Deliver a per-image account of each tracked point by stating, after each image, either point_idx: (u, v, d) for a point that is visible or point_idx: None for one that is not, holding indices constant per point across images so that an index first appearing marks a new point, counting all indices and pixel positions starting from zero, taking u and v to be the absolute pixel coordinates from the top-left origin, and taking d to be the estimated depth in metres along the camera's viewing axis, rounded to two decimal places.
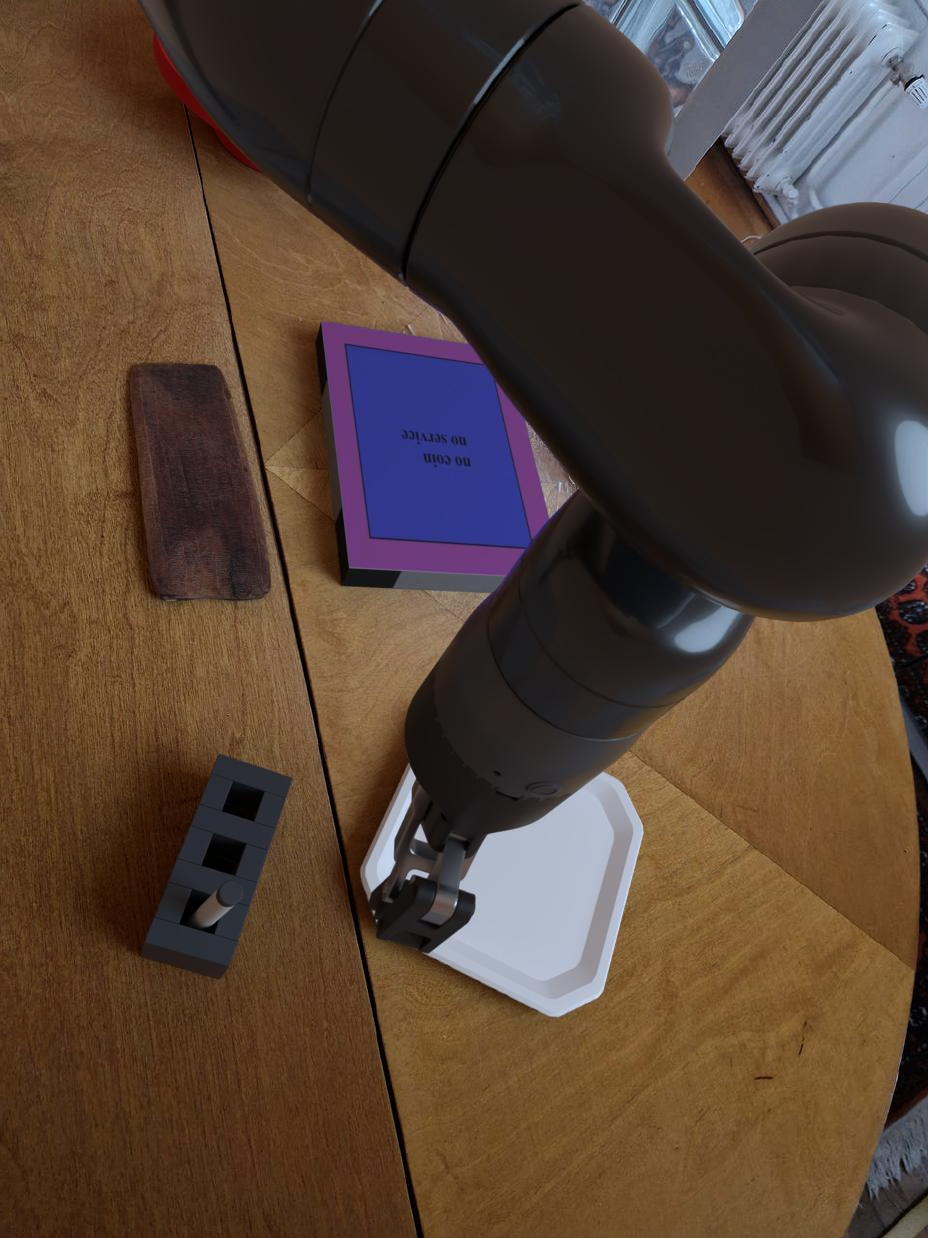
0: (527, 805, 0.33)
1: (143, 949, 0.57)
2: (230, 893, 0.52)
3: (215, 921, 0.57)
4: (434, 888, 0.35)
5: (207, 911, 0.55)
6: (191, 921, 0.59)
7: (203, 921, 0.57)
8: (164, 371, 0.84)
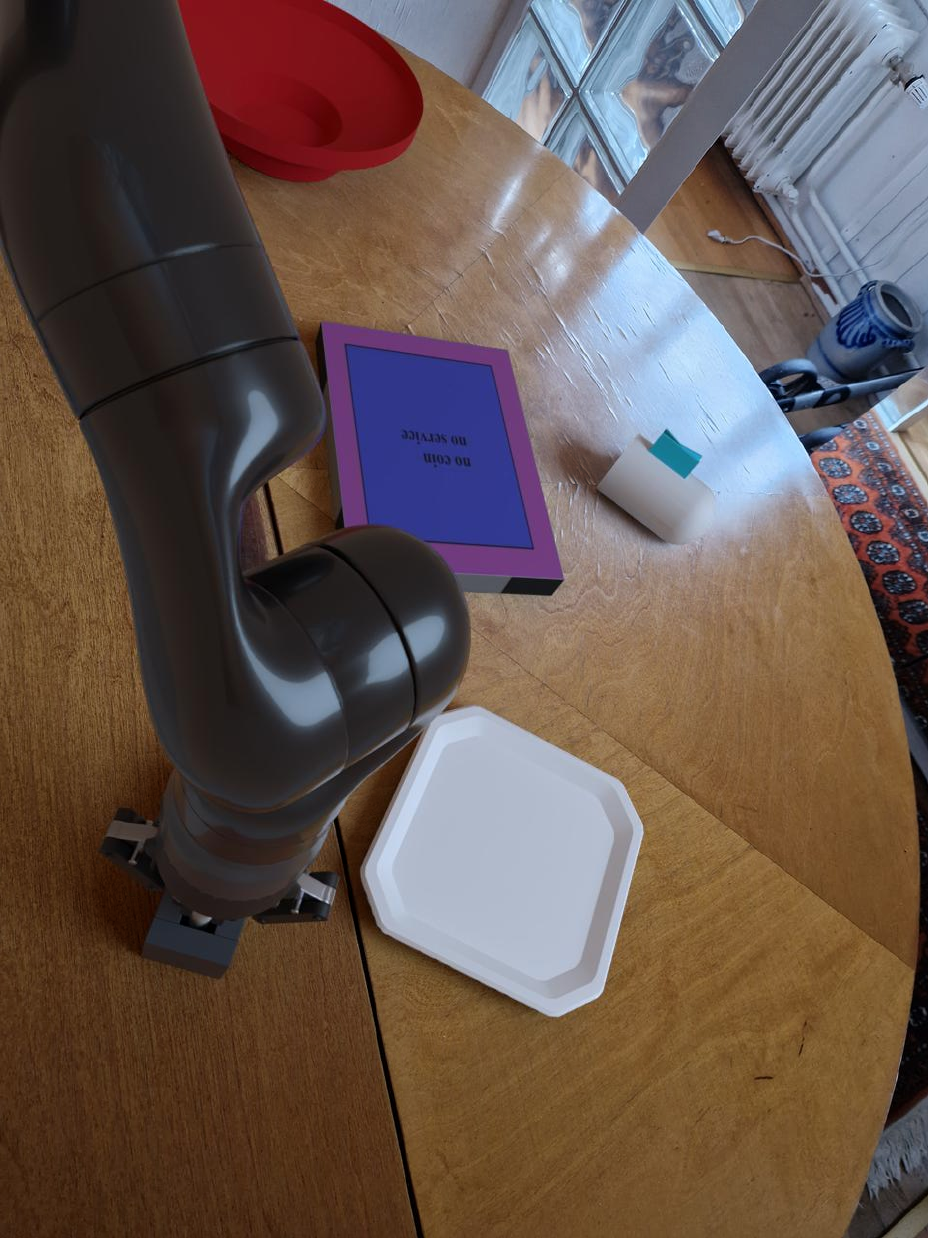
0: (159, 822, 0.42)
1: (143, 949, 0.57)
2: None
3: (209, 917, 0.57)
4: (120, 819, 0.47)
5: None
6: (189, 920, 0.59)
7: (197, 917, 0.57)
8: None
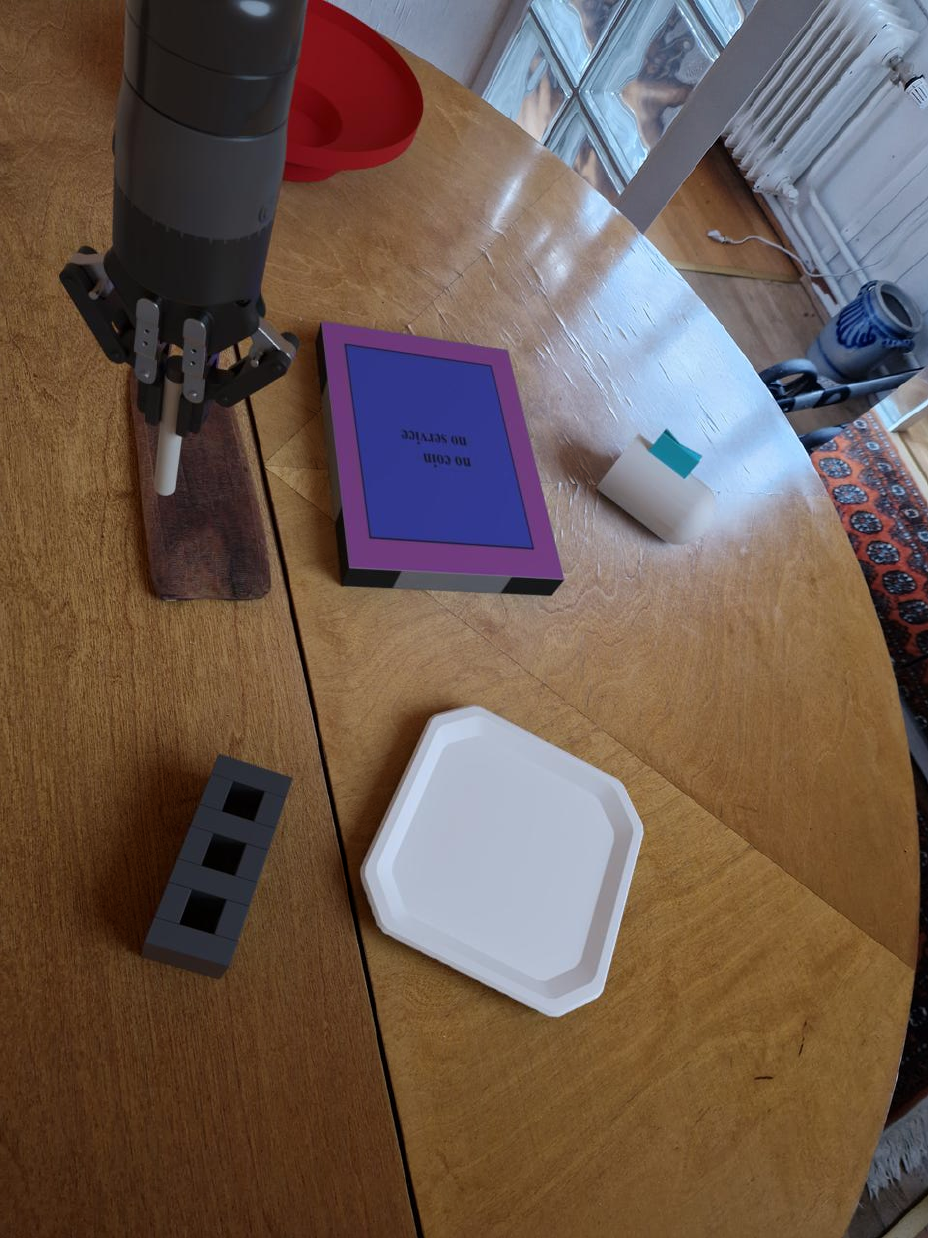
0: None
1: (143, 949, 0.57)
2: (177, 363, 0.52)
3: (175, 440, 0.57)
4: (81, 252, 0.48)
5: (163, 413, 0.55)
6: (156, 462, 0.59)
7: (163, 440, 0.57)
8: None
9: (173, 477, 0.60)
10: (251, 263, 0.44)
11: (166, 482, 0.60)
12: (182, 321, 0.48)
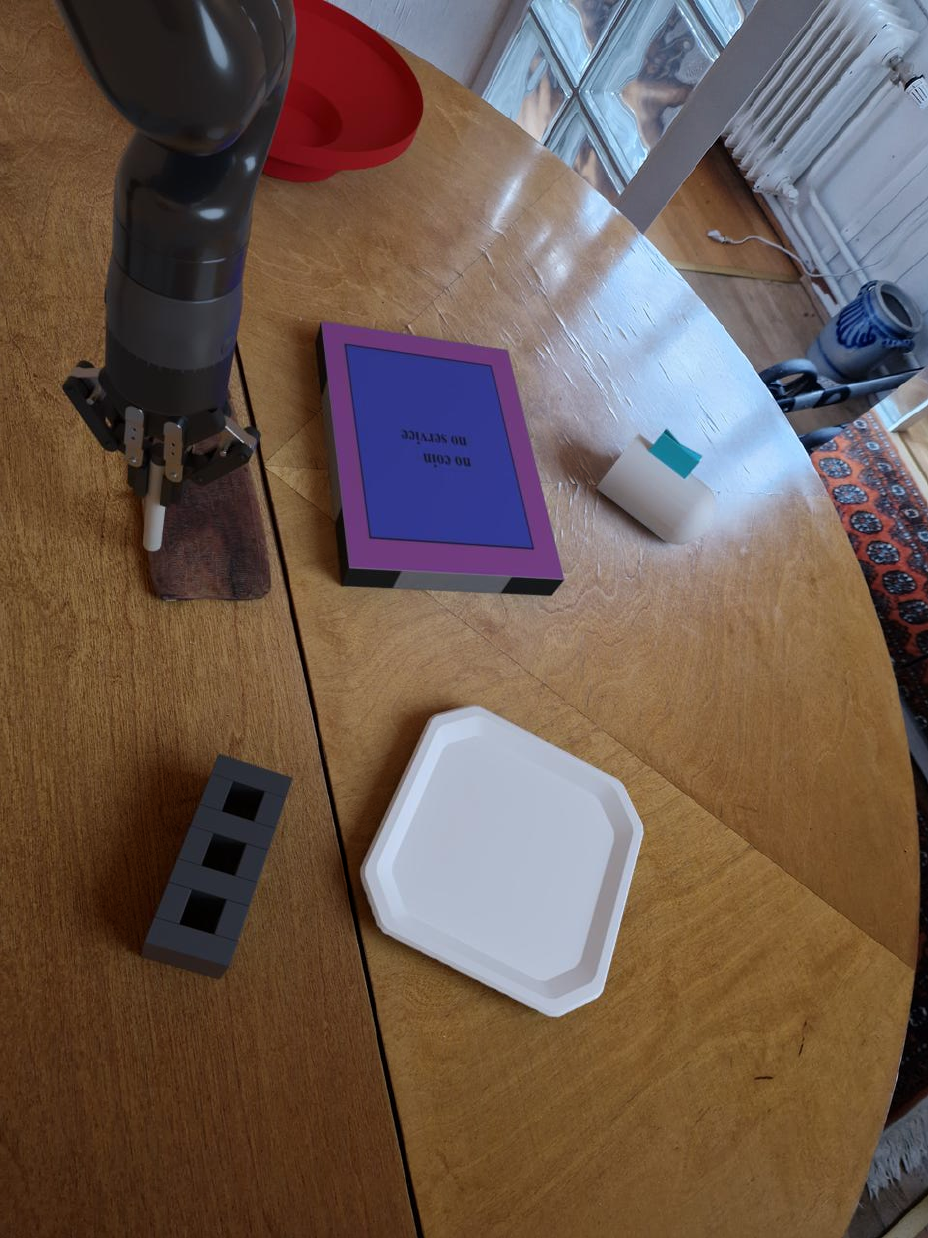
0: None
1: (143, 949, 0.57)
2: (160, 450, 0.63)
3: (160, 509, 0.68)
4: (80, 366, 0.59)
5: (149, 487, 0.66)
6: None
7: (150, 509, 0.68)
8: None
9: (159, 536, 0.71)
10: (216, 382, 0.55)
11: (153, 541, 0.71)
12: (163, 421, 0.59)
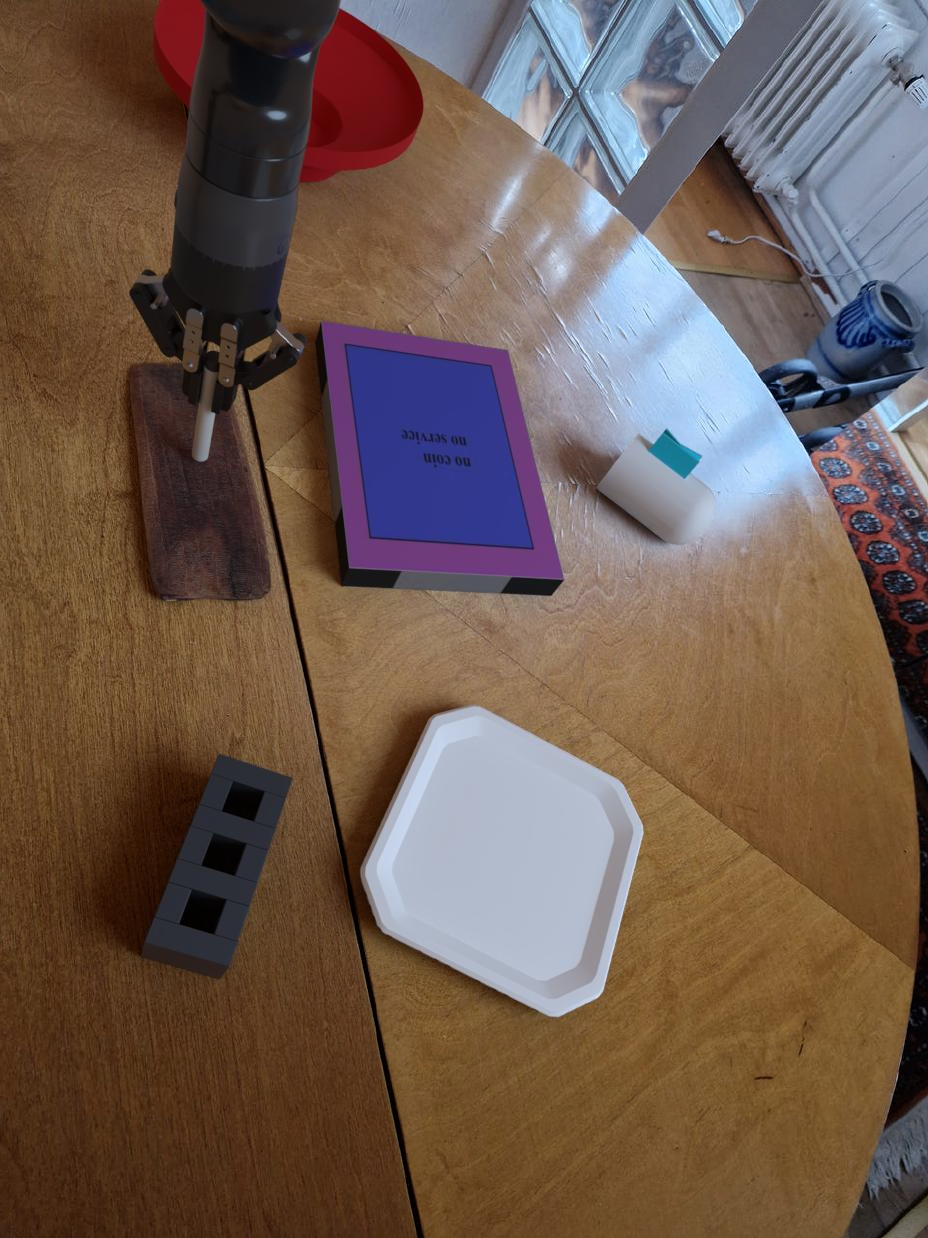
0: None
1: (143, 949, 0.57)
2: (214, 357, 0.69)
3: (210, 417, 0.74)
4: (145, 274, 0.65)
5: (201, 395, 0.72)
6: None
7: (201, 417, 0.74)
8: (164, 371, 0.84)
9: (207, 446, 0.77)
10: (272, 283, 0.61)
11: (202, 451, 0.77)
12: (219, 325, 0.65)
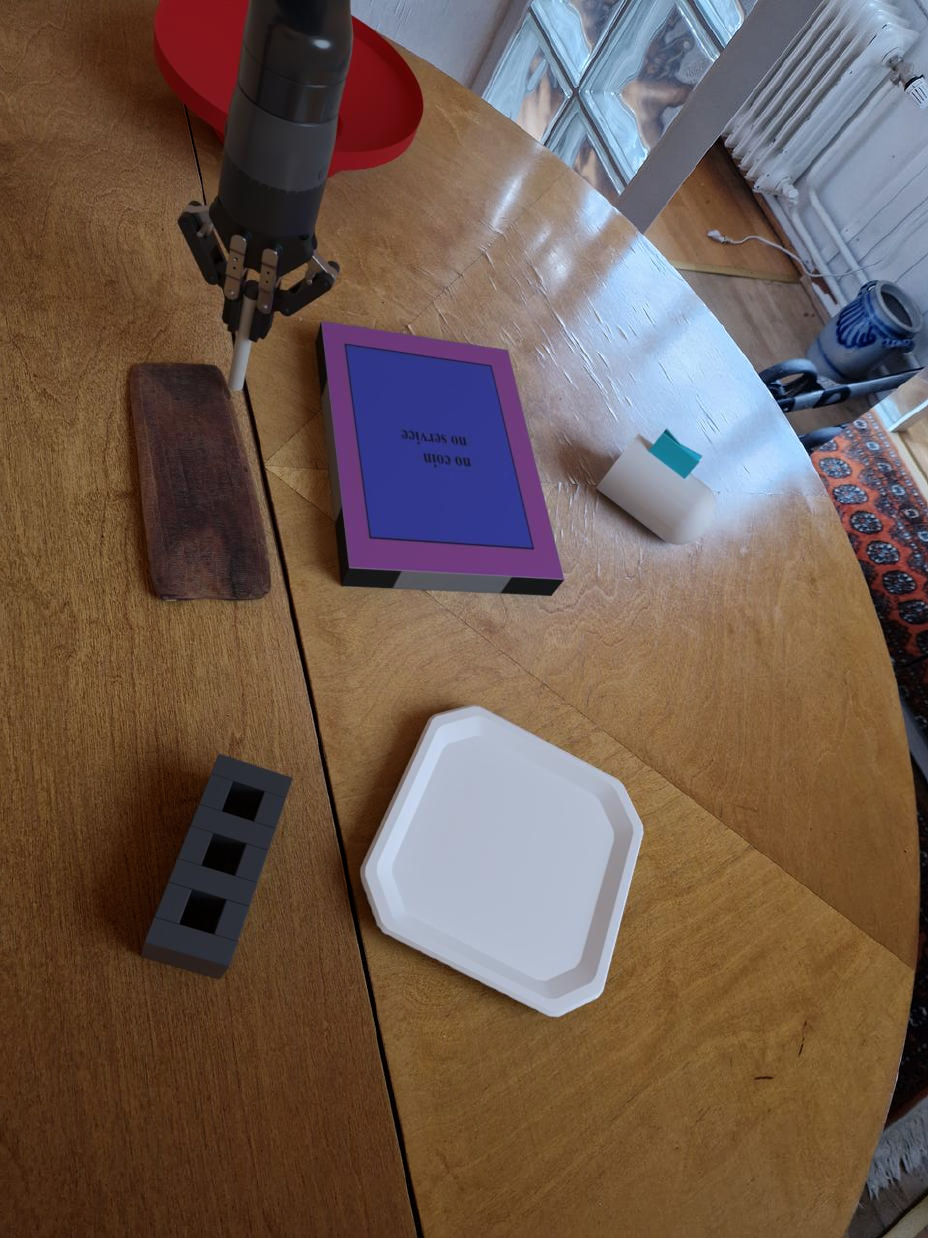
0: (223, 151, 0.64)
1: (143, 949, 0.57)
2: (253, 285, 0.74)
3: (247, 345, 0.79)
4: (191, 204, 0.70)
5: (240, 323, 0.77)
6: (231, 363, 0.82)
7: (238, 345, 0.79)
8: (164, 371, 0.84)
9: (243, 376, 0.83)
10: (311, 208, 0.66)
11: (238, 380, 0.83)
12: (260, 251, 0.70)
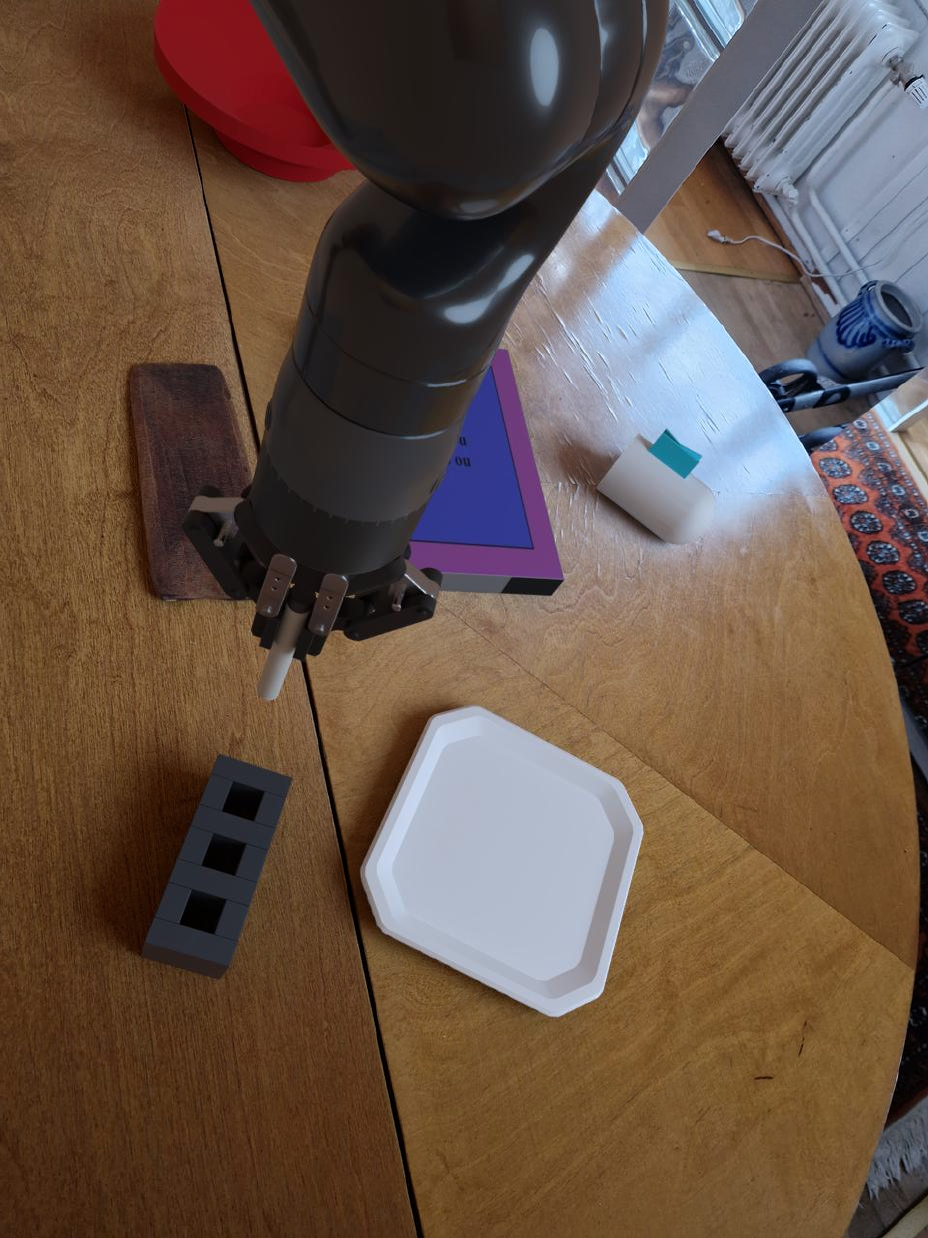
0: (261, 446, 0.37)
1: (143, 949, 0.57)
2: (302, 594, 0.47)
3: (288, 657, 0.52)
4: (204, 494, 0.43)
5: (279, 635, 0.50)
6: (263, 672, 0.54)
7: (276, 658, 0.52)
8: (164, 371, 0.84)
9: (280, 685, 0.55)
10: (412, 529, 0.39)
11: (273, 690, 0.55)
12: None
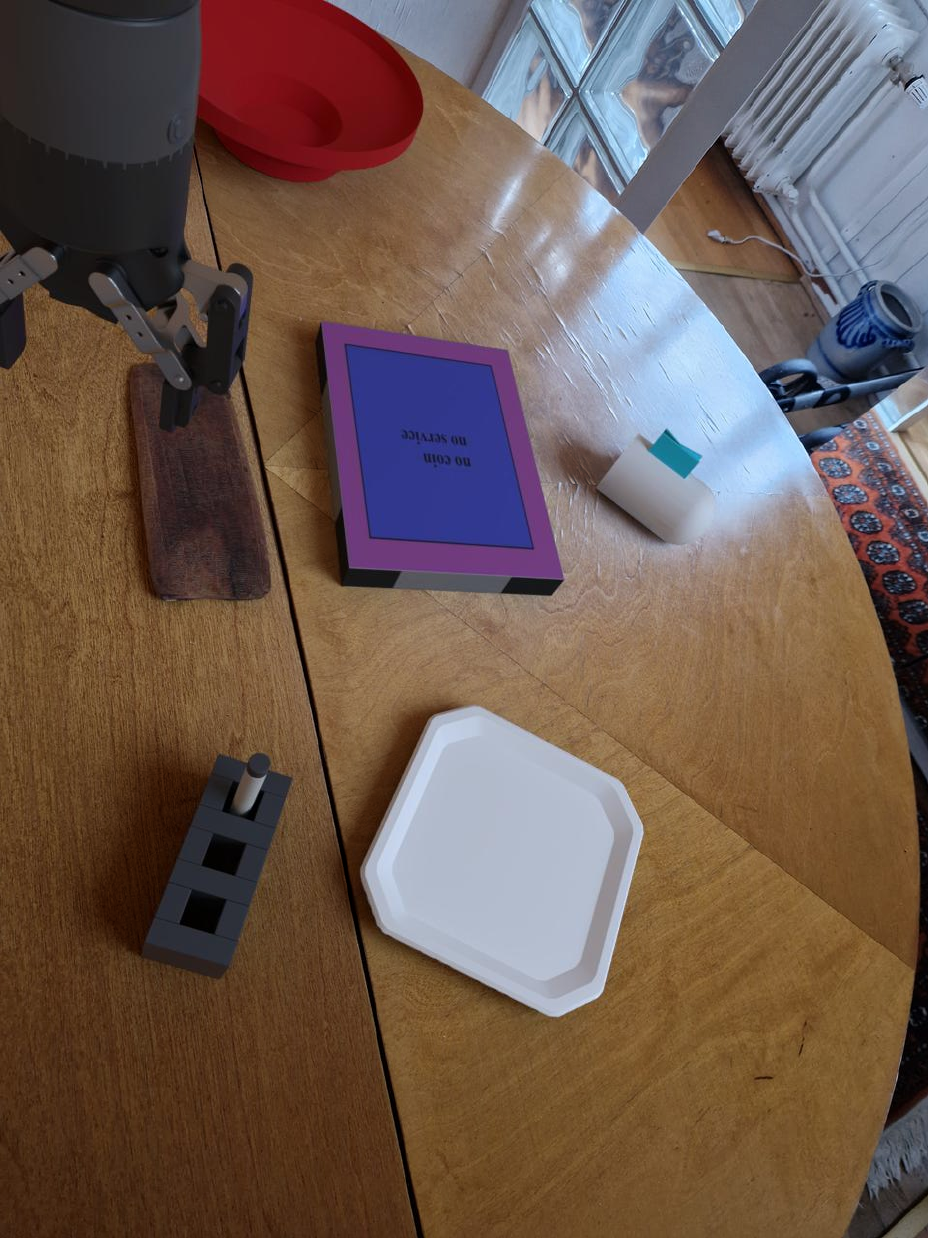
0: None
1: (143, 949, 0.57)
2: (258, 763, 0.56)
3: (250, 804, 0.61)
4: None
5: (241, 789, 0.59)
6: (230, 810, 0.63)
7: (239, 804, 0.61)
8: None
9: None
10: (164, 198, 0.35)
11: None
12: (89, 277, 0.39)
